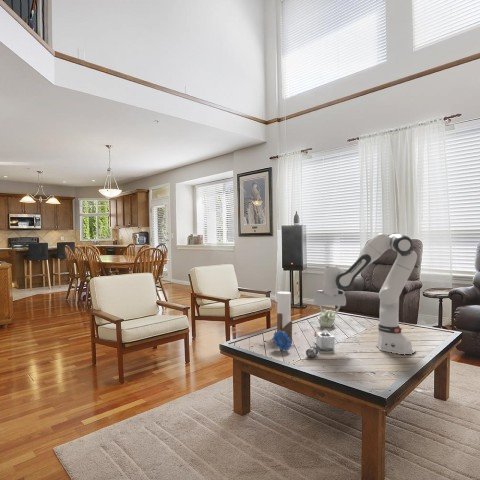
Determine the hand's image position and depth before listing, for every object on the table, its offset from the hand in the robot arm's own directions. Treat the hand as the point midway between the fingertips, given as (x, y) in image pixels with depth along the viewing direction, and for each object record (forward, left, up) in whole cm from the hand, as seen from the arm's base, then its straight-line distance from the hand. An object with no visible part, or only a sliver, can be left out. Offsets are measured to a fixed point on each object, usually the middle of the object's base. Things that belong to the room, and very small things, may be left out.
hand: (329, 312), depth 225 cm
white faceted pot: (-4, +9, -21) cm, 23 cm away
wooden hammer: (+21, +20, -21) cm, 36 cm away
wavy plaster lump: (+29, -36, -21) cm, 51 cm away
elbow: (+1, +6, -19) cm, 20 cm away
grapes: (+9, +34, -21) cm, 41 cm away
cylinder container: (+33, +8, -21) cm, 40 cm away
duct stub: (-9, +27, -21) cm, 35 cm away
